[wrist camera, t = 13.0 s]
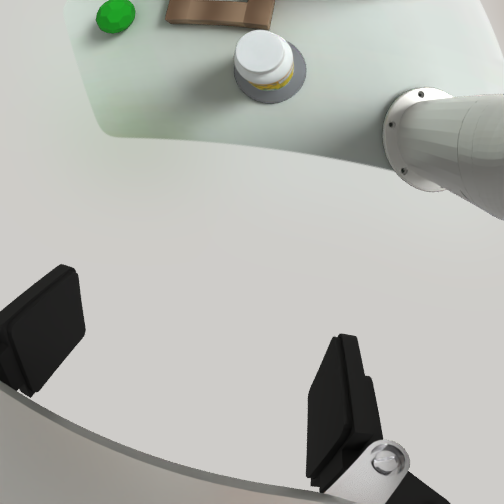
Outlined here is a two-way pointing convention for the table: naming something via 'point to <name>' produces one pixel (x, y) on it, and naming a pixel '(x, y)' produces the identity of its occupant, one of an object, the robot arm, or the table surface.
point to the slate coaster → (282, 93)
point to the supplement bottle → (264, 60)
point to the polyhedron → (115, 16)
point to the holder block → (221, 13)
